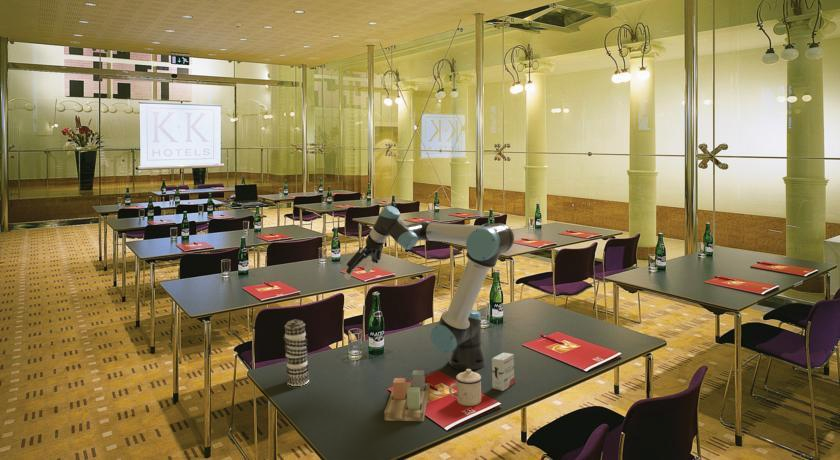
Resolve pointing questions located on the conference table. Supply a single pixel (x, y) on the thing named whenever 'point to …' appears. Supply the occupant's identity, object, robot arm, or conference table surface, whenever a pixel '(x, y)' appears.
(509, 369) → the ink box
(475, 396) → the teacup with lid
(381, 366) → the conference table surface
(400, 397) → the block terracotta
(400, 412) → the block board
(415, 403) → the block sage
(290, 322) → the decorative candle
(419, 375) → the block slate
